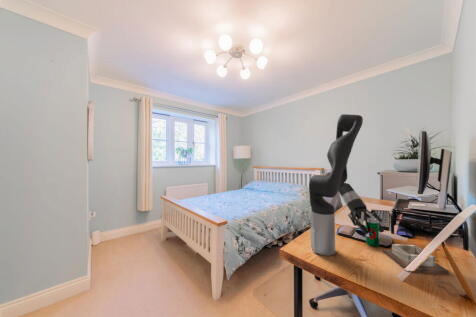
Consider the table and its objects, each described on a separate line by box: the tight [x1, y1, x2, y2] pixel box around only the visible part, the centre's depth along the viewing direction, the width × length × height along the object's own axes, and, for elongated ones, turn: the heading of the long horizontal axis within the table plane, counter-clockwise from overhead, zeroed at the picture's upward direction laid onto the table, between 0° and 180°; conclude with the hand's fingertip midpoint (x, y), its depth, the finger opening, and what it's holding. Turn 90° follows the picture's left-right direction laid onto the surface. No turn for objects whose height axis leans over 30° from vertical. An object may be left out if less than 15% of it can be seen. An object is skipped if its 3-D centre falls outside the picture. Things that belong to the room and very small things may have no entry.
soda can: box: [364, 217, 380, 248], centre depth 82 cm, size 5×5×12 cm
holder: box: [382, 243, 450, 275], centre depth 68 cm, size 13×13×5 cm
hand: (374, 232), depth 81 cm, fingers open, 8 cm apart
